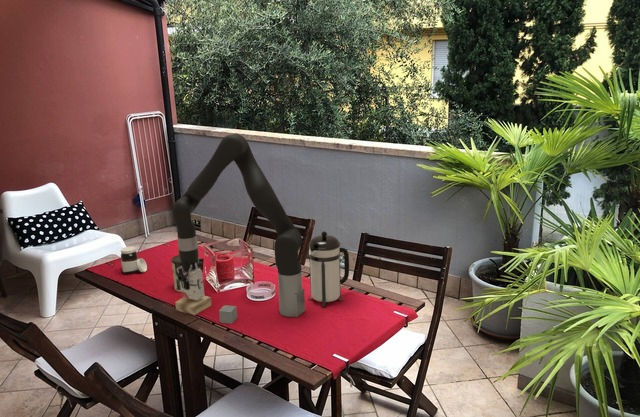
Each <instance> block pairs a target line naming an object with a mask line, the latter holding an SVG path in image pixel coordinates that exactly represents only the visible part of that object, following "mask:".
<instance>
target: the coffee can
mask: <svg viewBox="0 0 640 417" xmlns="http://www.w3.org/2000/svg"><path fill="white" fill-rule="evenodd" d="M170 261H171V268H172V276H173V285H174V290H175V291H176V292H180V293H181V287H180V281H179V280H178V277H177V274H176V271H175V268H179V267H180V266H181V260H180V259H179V254H178V255H175V256H173V257H172V258H171V259H170Z"/></svg>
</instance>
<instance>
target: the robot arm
mask: <svg viewBox="0 0 640 417" xmlns="http://www.w3.org/2000/svg"><path fill="white" fill-rule="evenodd" d="M232 162H234V163H235V165H236V166H237V168H238V169H239V171H240V173H241V176H242V180H243V183H244V188H245V190H246V192H247V195H248V197H249V199H250V200H251V203H252V204H253V205H254V207H255V209H256V210H257V211H258V212H259V214H261V215H262V216H263V217H265V218H266V219H267V221H269V222H270V223H271V225H272V227H273V228H274V230H275V232H276V234H277V238H276V239H275V241H274V250H273V251H274V260H275V266H276V269H277V280H278V299H279V300H278V302H279V303H278V305H279V313H280V315H281V316H284V317H287V318H288V317H289V318H290V317H291V318H293V317H295V318H298V317H299V316H300V315H302V314H303V313H304V312H306V300H305V298H306V297H305V289H304V288H303V278H302V276H303V275H302V264H301V262H299V250H300V249H301V248H302V246H303V237H302V235H301V233H300V232H299V230H298V229H297V227H296V226H295V224H294V223H293V222H292V220H291V219H290V217H289V215H287V213H286V211H285V209H284V206H283V205H282V203H281V202H280V200H279V198H278V196H277V195H276V192H275V190H274V189H273V187H272V186H271V184H270V183H269V181H268V178H267V177H266V176H265V174H264V172H263V170H262V169H261V167H260V166H259V164H258V162H257V160H256V158H255V156H254V153H253V151H252V150H251V147H250V145H249V142H248V140H247V139H246V138H245V137H244V136H243V135H242V134H240V133H232V134H228V135H227V134H226V135H225V136H224V137H223V138H222V139H221V140H220V142H219V145H218V146H217V148H216V149H215V152H214V153H213V155H212V156H211V158H210V159H209V161H208V162H207V164H206V165H205V166H204V167H203V168H202V170H201V171H200V172H199V173H198V175H197V176H196V177H195V178H194V179H193V181H192V182H191V183H190V184H189V186H188V188H187V190H186V192H185V193H184V194H183V195H182V196H181V197H180V198H179V199H178V200H176V201H175V202H174V203H173V206H172V210H171V211H172V217H173V220H174V223H175V226H176V233H177V247H178V255H179V259H180V260H181V266H180V267H179V268H175V271H176V274H177V277H178V280H179V281H183V286H184V289H186V290H189V289H190V287H189V281H188V280H189V273H190V272H191V271H192V270H193V269H201V270H202V273H204V272H203V271H204V260H205V259H204V258H202V257H199V256H200V255H199V247H198V246H199V245H198V237H197V232H196V224H195V222H194V221H192V213H193V212H195V210H196V208H197V207H198V205H200V203H201V201H202V199H204V198H205V197H206V196H207V195H208V193H209V192H210V191H211V189H212V188H213V187H214V186H215V183H216V182H217V181H218V180H219V179H218V178H219V177H220V175H221V174H222V173H223V171H224V170H225V169H227V167H228V166H229V165H230V164H232ZM184 271H185V272H188V273H184ZM185 275H186V278H185Z"/></svg>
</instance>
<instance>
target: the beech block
mask: <svg viewBox="0 0 640 417" xmlns="http://www.w3.org/2000/svg"><path fill="white" fill-rule="evenodd" d="M174 302H175V310H176V311H178V312H182V313H184V314H189V315H192V316H195V315H198V314H199V313H200V312H203V311H204V310H206V309H207V308H209V307H211V306H212V297H211V296H207V295H205V296H204V297H202V298H200V299H199V300H193V299H189V298H185V297H181V298H180V299H178V300H176V301H174Z"/></svg>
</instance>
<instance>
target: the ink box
mask: <svg viewBox="0 0 640 417" xmlns="http://www.w3.org/2000/svg"><path fill="white" fill-rule="evenodd" d="M184 273H188V272H185V271H184ZM185 278H186V275H185ZM188 281H189V287H190V289H189V290H186V289H184V286H183V281H180V287H181V292H180V294H181V298H184V297H185V298H189V299H193V300H199V299H200V298H202V297H204V296H206V295H205V286H204V278H203V272H202V270H201V269H193V270H192V271H191V272H190V273H189V280H188Z"/></svg>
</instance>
